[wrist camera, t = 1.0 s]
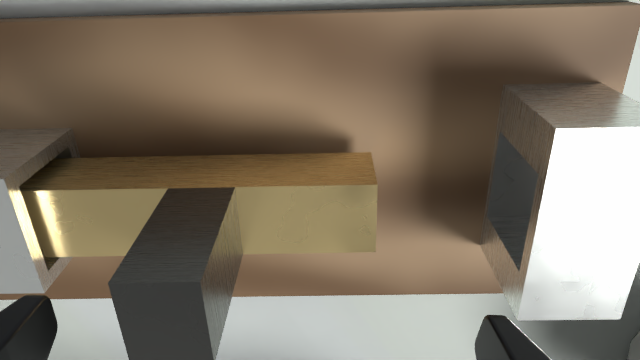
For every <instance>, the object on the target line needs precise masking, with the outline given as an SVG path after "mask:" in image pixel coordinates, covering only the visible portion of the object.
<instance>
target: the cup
mask: <svg viewBox="0 0 640 360" xmlns="http://www.w3.org/2000/svg"><path fill="white" fill-rule="evenodd" d="M627 360H640V331H639V332H638V334H637V335H636V336H635V337H634V338H633V340H632V341H631V342H630V348H629V353H628V359H627Z"/></svg>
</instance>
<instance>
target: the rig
mask: <svg viewBox="0 0 640 360" xmlns="http://www.w3.org/2000/svg"><path fill="white" fill-rule="evenodd" d="M53 158H80V156H79V152H78V148H77V145H76V141H75V137H74V134H73V130H72V128H47V129H0V294H22V293H45V292H46V291H47V290H48V288H49V287H50V286H51V284H52V283H53V282H54V281H55V279H56V278H57V277H58V276H59V274H60V273H61V272H62V271H63V269H64V268H65V267H66V266H67V264H68V263H69V262H70V261H71V259H72V258H73V257H43V255H42V252H41V249H40V246H39V243H38V240H37V237H36V235H35V232H34V229H33V226H32V223H31V220H30V217H29V214H28V211H27V208H26V205H25V203H24V200H23V197H22V194H21V191H20V188H19V186H20V185H21V184H22V183H24V182H25V181H26V180H27V179H29V178H30V177H31V176H32V175H34V174H35V173H36V172H37V171H39V170H40V169H41V168H42V167H44V166H45V165H46V164H47V163H48V162H50V161H51V160H52V159H53ZM480 247H481V249H482V251H483V253H484V255H485V257H486V259H487V261H488V263H489V265H490V267H491V269H492V271H493V273H494V275H495V277H496V279H497V281H498V283H499V285H500V287H501V289H502V291H503V293H504V295H505V297H506V299H507V301H508V303H509V305H510V307H511V309H512V311H513V313H514V315H515V317H516V319H517V321H522V320H608V319H621V316H622V313H623V310H624V307H625V304H626V301H627V298H628V295H629V292H630V289H631V286H632V283H633V280H634V276H635V273H636V270H637V267H638V264H639V261H640V103H639V102H637V101H635V100H633V99H631V98H629V97H628V96H626V95H624V94H622V93H620V92H618V91H616V90H614V89H612V88H610V87H609V86H607V85H605V84H603V83H601V82H594V83H550V84H507V85H503V88H502V95H501V102H500V109H499V116H498V123H497V130H496V137H495V143H494V150H493V157H492V164H491V171H490V178H489V185H488V192H487V198H486V205H485V212H484V219H483V226H482V233H481V240H480Z"/></svg>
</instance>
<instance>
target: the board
mask: <svg viewBox="0 0 640 360" xmlns="http://www.w3.org/2000/svg"><path fill="white" fill-rule="evenodd" d="M639 27H640V4H638V3H633V2H608V3H571V4H533V5H496V6H458V7H420V8H383V9H345V10H308V11H270V12H233V13H195V14H157V15H120V16H82V17H45V18H7V19H0V129H47V128H72V130H73V134H74V137H75V141H76V145H77V148H78V152H79V156H80V158H101V157H151V156H202V155H253V154H304V153H354V152H371V155H372V160H373V164H374V169H375V174H376V179H377V184H378V190H377V223H376V252H360V253H293V254H243V257H242V260H241V264H240V268H239V272H238V276H237V279H236V283H235V287H234V291H233V294H232V297H248V296H325V295H403V294H481V293H503V291H502V289H501V287H500V285H499V283H498V281H497V279H496V277H495V275H494V273H493V271H492V269H491V267H490V265H489V263H488V261H487V259H486V257H485V255H484V253H483V251H482V249H481V247H480V240H481V233H482V226H483V219H484V212H485V205H486V198H487V192H488V185H489V178H490V171H491V164H492V157H493V150H494V143H495V137H496V130H497V123H498V116H499V109H500V102H501V95H502V88H503V85H507V84H550V83H594V82H601V83H603V84H605V85H607V86H609V87H610V88H612V89H614V90H616V91H618V92H620V93H623V89H624V85H625V81H626V77H627V73H628V69H629V66H630V62H631V58H632V54H633V50H634V46H635V43H636V39H637V35H638V31H639ZM124 257H125V256H91V257H73V258H72V259H71V261H70V262H69V263H68V264H67V266H66V267H65V268H64V269H63V271H62V272H61V273H60V274H59V276H58V277H57V278H56V279H55V281H54V282H53V283H52V284H51V286H50V287H49V288H48V290H47V291H46V292H45V293H22V294H0V300H14V299H20V298H21V297H23V296H25V295H46V296H48V297H49V298H50V299H92V298H112V296H111V293H110V289H109V286H108V282H109V281H110V279H111V278H112V276H113V274H114V273H115V271H116V270H117V268H118V267H119V265H120V263H121V262H122V260H123V259H124Z"/></svg>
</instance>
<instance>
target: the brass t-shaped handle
mask: <svg viewBox="0 0 640 360" xmlns="http://www.w3.org/2000/svg"><path fill="white" fill-rule="evenodd" d="M19 188H20V191H21V194H22V197H23V200H24V203H25V205H26V208H27V211H28V214H29V217H30V220H31V223H32V226H33V229H34V232H35V235H36V237H37V240H38V243H39V246H40V249H41V252H42V255H43V257H91V256H125V257H124V259H123V260H122V262H121V263H120V265H119V267H118V268H117V270H116V271H115V273H114V274H113V276H112V278H111V279H110V281H109V282H108V286H109V289H110V293H111V296H112V300H113V304H114V307H115V311H116V314H117V318H118V321H119V325H120V329H121V332H122V336H123V339H124V343H125V346H126V350H127V354H128V357H129V360H215V359H216V355H217V351H218V347H219V344H220V340H221V336H222V332H223V328H224V325H225V321H226V317H227V313H228V310H229V306H230V302H231V298H232V294H233V291H234V287H235V283H236V279H237V276H238V272H239V268H240V264H241V260H242V257H243V254H293V253H360V252H376V223H377V190H378V184H377V179H376V174H375V169H374V164H373V160H372V155H371V152H354V153H304V154H253V155H202V156H151V157H101V158H53V159H52V160H51V161H50V162H48V163H47V164H46V165H45V166H44V167H42V168H41V169H40V170H39V171H37V172H36V173H35V174H34V175H32V176H31V177H30V178H29V179H27V180H26V181H25V182H24V183H22V184H21V185H20V186H19Z"/></svg>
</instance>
